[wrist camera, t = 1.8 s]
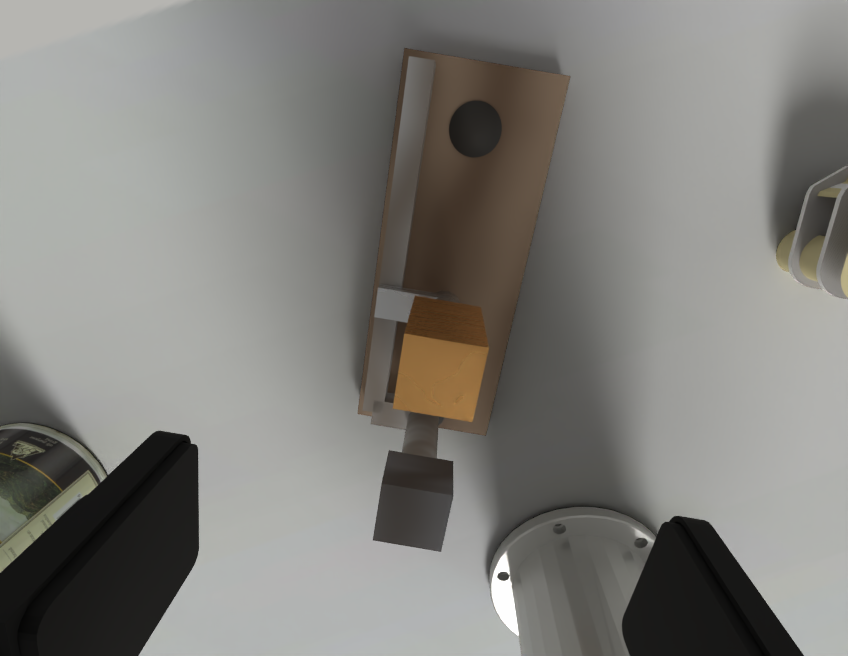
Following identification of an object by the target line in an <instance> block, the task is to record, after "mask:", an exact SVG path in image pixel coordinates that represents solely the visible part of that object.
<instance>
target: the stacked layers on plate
mask: <svg viewBox="0 0 848 656" xmlns="http://www.w3.org/2000/svg"><path fill="white" fill-rule="evenodd" d="M776 259H777V262H778V265H779V266H780V267H781V268H782V269H783V270H784V271H786V272H789V273H790V274H791V276H792V277H793V278H794V280H795V281H797V282H798V283H800V284H802V285H804V286H807V287H811V288H817V289H823V290H824V291H825V292H827V293H828V294H830V295H833V296H836V297H839V298H844V299H848V166H845V167H843V168H841V169H839V170H838V171H836V172H834V173H832V174H831V175H829V176H827V177H825V178H824V179H822V180H820V181H818V182H816V183H815V184H813V185H811V186H810V187H809V189H808V191H807V193H806V195H805V199H804V203H803V206H802V210H801V214H800V217H799V221H798V225H797V228H796V230H794V231H792V232H790V233H789V234H787V235H786V236H785V237H784V238H783V239H782V241H781V242H780V244H779V246H778V248H777V252H776Z"/></svg>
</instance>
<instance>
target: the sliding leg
mask: <svg viewBox="0 0 848 656" xmlns="http://www.w3.org/2000/svg"><path fill="white" fill-rule="evenodd" d="M374 317H377V318H383V319H388V320H394V321H400V322H406V323H407V326H406V329H405V333H404V338H403V345H402V351H401V358H400V364H399V371H398V377H397V383H396V390H395V396H394V403H393V409H398V410H404V411H410V412H416V413H421V414H427V415H433V416H439V417H445V418H451V419H457V420H463V421H469V422H473V418H474V413H475V409H476V404H477V400H478V395H479V391H480V386H481V382H482V377H483V373H484V368H485V364H486V359H487V355H488V350H489V345H488V340H487V335H486V330H485V325H484V320H483V315H482V310H481V307H479V306H473V305H467V304H461V303H460V301H459V299H458V297H457V296H456V295H455V294H453V293H452V292H450V291H445V290H443V291H438V292H436V293H432V292H426V291H420V290H414V289H408V288H402V287H396V286H390V285H385V284H380V285H379V287H378V292H377V300H376V307H375V315H374Z"/></svg>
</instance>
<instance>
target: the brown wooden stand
mask: <svg viewBox="0 0 848 656" xmlns="http://www.w3.org/2000/svg"><path fill="white" fill-rule="evenodd" d="M569 80H570V76H566V75H560V74H554V73H548V72H542V71H536V70H530V69H525V68H519V67H513V66H507V65H501V64H495V63H489V62H483V61H477V60H472V59H466V58H460V57H454V56H448V55H442V54H436V53H430V52H424V51H418V50H413V49H407V48H404V56H403V63H402V71H401V79H400V87H399V95H398V102H397V110H396V118H395V126H394V134H393V141H392V149H391V157H390V165H389V173H388V180H387V188H386V196H385V204H384V212H383V220H382V227H381V235H380V243H379V251H378V259H377V266H376V274H375V282H374V290H373V298H372V305H371V313H370V321H369V329H368V337H367V344H366V352H365V360H364V368H363V376H362V383H361V391H360V399H359V407H358V414H361V415H367V416H372V419H371V424H374V425H380V426H386V427H392V428H398V429H404V430H406V432H405V438H404V444H403V450H402V453H401V452H395V451H389V453H388V457H387V462H386V466H385V471H384V476H383V480H382V485H381V492H380V498H379V504H378V511H377V517H376V524H375V530H374V536H373V540H375V541H381V542H387V543H392V544H398V545H404V546H410V547H416V548H422V549H428V550H434V551H439V552H441V549H442V545H443V540H444V535H445V531H446V526H447V522H448V517H449V513H450V508H451V504H452V499H453V461H448V460H442V459H437V440H438V428H444V429H449V430H455V431H461V432H467V433H473V434H479V435H485V436H486V433H487V428H488V424H489V420H490V416H491V411H492V407H493V403H494V399H495V394H496V390H497V386H498V382H499V377H500V373H501V369H502V365H503V360H504V356H505V352H506V348H507V343H508V339H509V335H510V331H511V326H512V322H513V318H514V314H515V309H516V305H517V301H518V297H519V292H520V288H521V284H522V280H523V275H524V271H525V267H526V263H527V258H528V254H529V250H530V246H531V241H532V237H533V233H534V229H535V224H536V220H537V216H538V212H539V207H540V203H541V199H542V195H543V191H544V186H545V182H546V178H547V174H548V169H549V165H550V161H551V157H552V152H553V148H554V144H555V140H556V135H557V131H558V127H559V123H560V118H561V114H562V110H563V106H564V101H565V97H566V93H567V89H568V84H569ZM380 284H385V285H390V286H396V287H402V288H408V289H414V290H420V291H426V292H432V293H436V292H438V291H443V290H445V291H450V292H452V293H453V294H455V295H456V296H457V297H458V299H459V301H460V303H461V304H467V305H473V306H479V307H481V310H482V315H483V320H484V325H485V330H486V335H487V340H488V345H489V350H488V355H487V359H486V364H485V368H484V373H483V377H482V382H481V386H480V391H479V395H478V400H477V404H476V409H475V413H474V418H473V422H469V421H463V420H457V419H451V418H445V417H439V416H433V415H427V414H421V413H416V412H410V411H404V410H398V409H393V403H394V396H395V390H396V383H397V377H398V371H399V364H400V358H401V351H402V345H403V338H404V333H405V329H406V326H407V323H406V322H400V321H394V320H388V319H383V318H377V317H374V315H375V307H376V300H377V292H378V287H379V285H380Z"/></svg>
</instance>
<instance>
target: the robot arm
mask: <svg viewBox="0 0 848 656" xmlns="http://www.w3.org/2000/svg"><path fill="white" fill-rule="evenodd" d="M198 551H199V506H198V447H197V445H195V444H191V441H190V438H189V436H187V435H182V434H176V433H170V432H164V431H156V432H154V433H153V434H152V435H151V436H150V437H149V438H147V439H146V440H145V441H144V442H143V443H142V444H141V445H140V446H139V447H138V448H137V449H136V450H135V451H134V452H133V453H132V454H130V455H129V456H128V457H127V458H126V459H125V460H124V461H123V462H122V463H121V464H120V465H119V466H118V467H117V468H116V469H115V470H113V471H112V472H111V473H110V474H109V475H108V476H107V477H106V478H105V479H104V480H103V481H102V482H101V483H100V484H99V485H98V486H96V487H95V488H94V489H93V490H92V491H91V492H90V493H89V494H88V495H85V496H84V497H82V498H81V499H79V500H78V501H77V502H76V503H75V504H74V505H73V506H71V507H70V508H69V509H68V510H67V511H66V512H65V513H64V514H63V515H62V516H61V517H60V518H59V519H58V520H56V521H55V522H54V523H53V524H52V525H51V526H50V527H49V528H48V529H47V530H46V531H45V532H44V533H42V534H41V535H40V536H39V537H38V538H37V539H36V540H35V541H34V542H33V543H32V544H31V545H30V546H29V547H27V548H26V549H25V550H24V551H23V552H22V553H21V554H20V555H19V556H18V557H17V558H16V559H15V560H14V561H12V562H11V563H10V564H9V565H8V566H7V567H6V568H5V569H4V570H3V571H2V572H1V573H0V656H138V655H139V654H140V652H141V650H142V649H143V647H144V646H145V644H146V642H147V641H148V639H149V637H150V636H151V634H152V633H153V631H154V629H155V628H156V626H157V625H158V623H159V621H160V620H161V618H162V617H163V615H164V613H165V612H166V610H167V608H168V607H169V605H170V604H171V602H172V600H173V599H174V597H175V596H176V594H177V592H178V591H179V589H180V588H181V586H182V584H183V583H184V581H185V579H186V578H187V576H188V575H189V573H190V571H191V570H192V568H193V566H194V564H195V562H196V559H197V556H198ZM489 583H490V593H491V599H492V602H493V605H494V608H495V610H496V612H497V614H498V615H499V617H500V619H501V620H502V621H503V622H504V623H505V625H506V626H507V627H508V628H509V629H510V630H511V631H512V632H514V633H515V634H516V635H518V636H519V642H520V649H521V656H804V655H803V654H802V652H801V651H800V649H799V648H798V647H797V645H796V644H795V642H794V641H793V640H792V638H791V637H790V635H789V634H788V633H787V631H786V630H785V628H784V627H783V625H782V624H781V623H780V621H779V620H778V618H777V617H776V616H775V614H774V613H773V611H772V610H771V609H770V607H769V606H768V604H767V603H766V601H765V600H764V599H763V597H762V596H761V594H760V593H759V592H758V590H757V589H756V587H755V586H754V584H753V583H752V582H751V580H750V579H749V577H748V576H747V575H746V573H745V572H744V570H743V569H742V568H741V566H740V565H739V563H738V562H737V560H736V559H735V558H734V556H733V555H732V553H731V552H730V551H729V549H728V548H727V546H726V545H725V543H724V542H723V541H722V539H721V538H720V536H719V535H718V534H717V532H716V531H715V529H714V528H713V527H712V525H711V524H710V523H709V522H707V521H705V520H699V519H693V518H687V517H681V516H674V517H673V518H672V519H671V520H670V522H665V523H663V524H662V526H661V528H660V530H659V532H658V535H657V537H655V535H654V534H653V533H652V532H651V531H650V530H649V529H647V528H646V527H645V526H644V525H643V524H641V523H640V522H638V521H636V520H634V519H633V518H631V517H629V516H627V515H624V514H621V513H618V512H615V511H613V510H608V509H602V508H596V507H571V508H564V509H557V510H554V511H551V512H547V513H544V514H541V515H539V516H537V517H535V518H533V519H531V520H528V521H526V522H525V523H523V524H522V525H521V526H519V527H518V528H516V529H515V530H514V531H512V532H511V533H510V534H509V536H508V537H507V538H506V539H505V540H504V541H503V542H502V543H501V545H500V546H499V548H498V550H497V551H496V553H495V555H494V558H493V561H492V564H491V567H490V577H489Z"/></svg>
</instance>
